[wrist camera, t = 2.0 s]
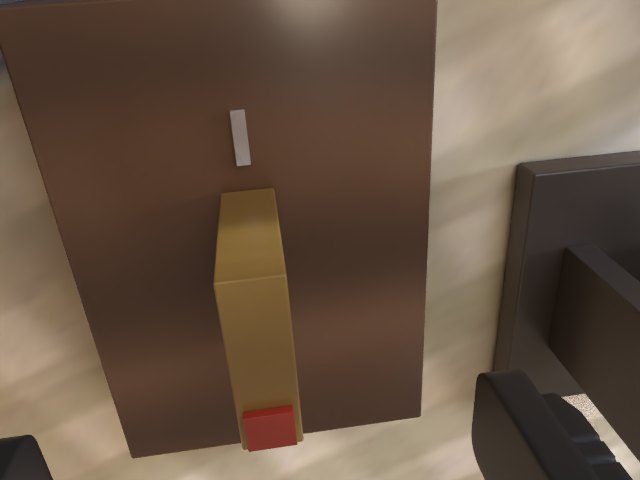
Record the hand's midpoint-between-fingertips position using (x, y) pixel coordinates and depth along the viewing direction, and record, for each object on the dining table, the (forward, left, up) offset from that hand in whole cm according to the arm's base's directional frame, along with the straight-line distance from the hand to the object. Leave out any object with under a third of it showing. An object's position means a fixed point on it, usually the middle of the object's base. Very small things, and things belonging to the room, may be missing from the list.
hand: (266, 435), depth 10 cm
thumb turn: (0, 0, -6) cm, 6 cm away
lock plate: (0, 0, -9) cm, 9 cm away
